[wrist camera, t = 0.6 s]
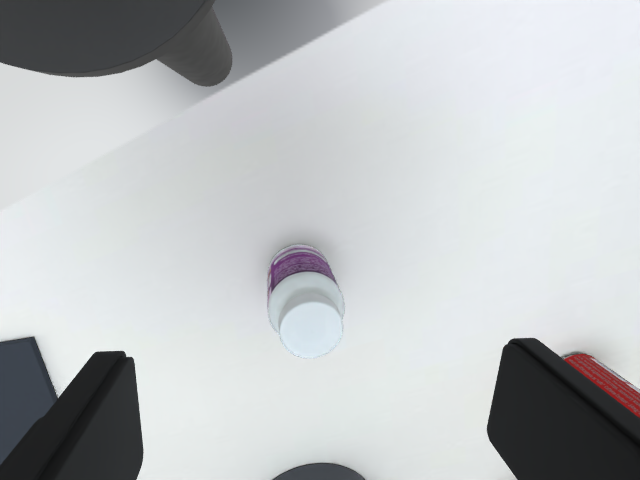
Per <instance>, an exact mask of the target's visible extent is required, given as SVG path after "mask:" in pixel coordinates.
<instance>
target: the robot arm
mask: <svg viewBox="0 0 640 480" xmlns="http://www.w3.org/2000/svg"><path fill="white" fill-rule="evenodd" d="M487 433H488V437H489V440H490V442H491V443H492V445H493V446H494V448H495V449H496V450H497V452H498V453H499V454H500V456H501V457H502V459H503V460H504V461H505V463H506V464H507V466H508V467H509V468H510V470H511V471H512V473H513V474H514V475H515V477H516V478H517V479H518V480H640V418H639V417H638V416H636V415H635V414H634V413H633V412H631V411H630V410H629V409H627V408H626V407H625V406H623V405H622V404H621V403H620V402H618V401H617V400H616V399H614V398H613V397H612V396H610V395H609V394H608V393H607V392H605V391H604V390H603V389H601V388H600V387H599V386H597V385H596V384H595V383H593V382H592V381H591V380H590V379H588V378H587V377H586V376H584V375H583V374H582V373H580V372H579V371H578V370H577V369H575V368H574V367H573V366H571V365H570V364H569V363H567V362H566V361H565V360H564V359H562V358H561V357H560V356H558V355H557V354H556V353H554V352H553V351H552V350H550V349H549V348H548V347H547V346H545V345H544V344H543V343H541V342H540V341H539V340H537V339H535V338H516V339H511V340H510V341H509V342H508V344H507V345H505V346H504V348H503V351H502V356H501V361H500V366H499V371H498V376H497V381H496V386H495V390H494V395H493V400H492V405H491V410H490V415H489V420H488V425H487ZM142 461H143V442H142V432H141V422H140V413H139V403H138V393H137V383H136V374H135V364H134V359H133V358H132V357H126V354H125V352H124V351H105V352H95V353H94V354H93V355H92V356H91V358H90V359H89V360H88V361H87V363H86V364H85V365H84V366H83V368H82V369H81V370H80V372H79V373H78V374H77V375H76V377H75V378H74V379H73V380H72V382H71V383H70V384H69V385H68V387H67V388H66V389H65V390H64V392H63V393H62V394H61V396H60V397H59V398H58V399H57V401H56V402H55V403H54V404H53V406H52V407H51V408H50V409H49V411H48V412H47V413H46V414H45V416H43V417H41V418H39V419H38V420H37V421H36V422H35V423H34V424H33V425H32V427H31V428H30V429H29V430H28V432H27V433H26V434H25V435H24V436H23V438H22V439H21V440H20V441H19V443H18V444H17V445H16V446H15V448H14V449H13V450H12V451H11V453H10V454H9V455H8V456H7V458H6V459H5V460H4V461H3V462H2V464H1V465H0V480H136V479H137V477H138V474H139V471H140V469H141V465H142Z"/></svg>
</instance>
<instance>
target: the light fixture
mask: <svg viewBox="0 0 640 480" xmlns="http://www.w3.org/2000/svg"><path fill="white" fill-rule="evenodd" d="M274 480H365V479H364V478H363V477H362V476H360V475H359V474H358V473H356V472H355V471H353V470H351V469H349V468H346V467H343V466H340V465H335V464H311V465H305V466H301V467H298V468H295V469H292V470H289V471H287V472H285V473H283V474H281V475H280V476H278V477H277V478H275V479H274Z"/></svg>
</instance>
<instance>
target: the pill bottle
mask: <svg viewBox="0 0 640 480" xmlns="http://www.w3.org/2000/svg"><path fill="white" fill-rule="evenodd" d="M267 293H268V306H267V307H268V317H269V320H270V323H271V325H272V327H273V329H274V330H275V331H276V333H277V334H278V335H279V336H280V339H281V342H282V344H283V345H284V347H285V348H286V349H287V350H288V351H289V352H290V353H292V354H293V355H295V356H298V357H301V358H317V357H320V356H323V355H325V354H327V353H329V352H330V351H331V350H333V349H334V348H335V347H336V345H337V344H338V343H339V341H340V339H341V336H342V333H343V322H342V319H343V316H344V311H345V303H344V298H343V295H342V292H341V290H340V288H339V286H338V284H337V282H336V280H335V278H334V275H333V273H332V271H331V269H330V267H329V264H328V262H327V260H326V258H325V257H324V255H323V254H322V253H321V252H320V251H318V250H317V249H315V248H313V247H311V246H307V245H297V244H296V245H292V246H289V247H286V248H284V249H282V250H281V251H279V252H278V253H277V254H276V255H275V256H274V258H273V259H272V261H271V263H270V265H269V269H268V291H267Z"/></svg>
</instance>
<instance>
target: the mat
mask: <svg viewBox="0 0 640 480" xmlns="http://www.w3.org/2000/svg"><path fill="white" fill-rule="evenodd" d="M56 401H57V396H56V393H55V391H54V388H53V386H52V383H51V381H50V378H49V375H48V373H47V370H46V368H45V365H44V362H43V360H42V357H41V355H40V352H39V350H38V347H37V344H36V342H35V339H34V337H31V338H25V339H18V340H12V341H6V342H0V465H1V464H2V462H3V461H4V460H5V459H6V458H7V456H8V455H9V454H10V453H11V451H12V450H13V449H14V448H15V446H16V445H17V444H18V443H19V441H20V440H21V439H22V438H23V436H24V435H25V434H26V433H27V432H28V430H29V429H30V428H31V427H32V425H33V424H34V423H35V422H36V421H37V420H38V419H39V418H41V417H43V416H45V414H46V413H47V412H48V411H49V409H50V408H51V407H52V406H53V404H54V403H55V402H56Z"/></svg>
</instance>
